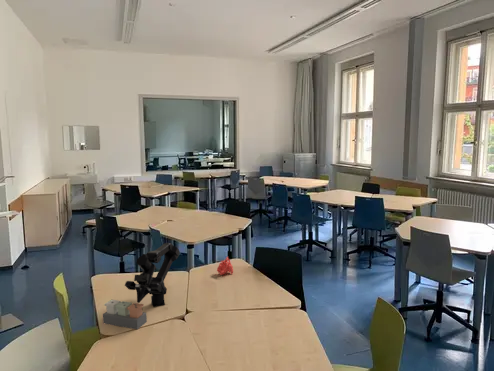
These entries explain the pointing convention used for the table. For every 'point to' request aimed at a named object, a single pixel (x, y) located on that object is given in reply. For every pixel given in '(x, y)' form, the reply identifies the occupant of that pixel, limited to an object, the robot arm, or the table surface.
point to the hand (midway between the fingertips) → (138, 302)
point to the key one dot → (112, 306)
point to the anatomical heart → (225, 267)
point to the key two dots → (123, 308)
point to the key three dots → (135, 310)
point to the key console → (125, 320)
